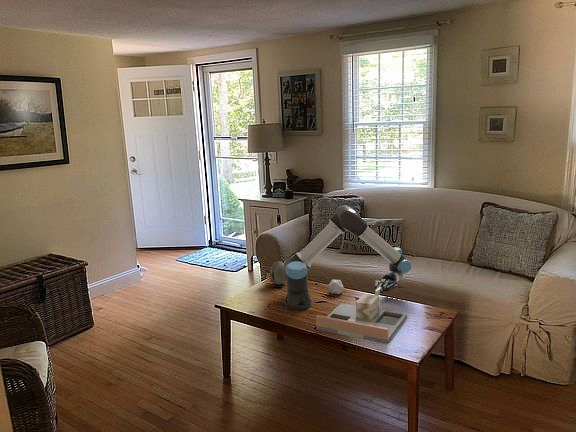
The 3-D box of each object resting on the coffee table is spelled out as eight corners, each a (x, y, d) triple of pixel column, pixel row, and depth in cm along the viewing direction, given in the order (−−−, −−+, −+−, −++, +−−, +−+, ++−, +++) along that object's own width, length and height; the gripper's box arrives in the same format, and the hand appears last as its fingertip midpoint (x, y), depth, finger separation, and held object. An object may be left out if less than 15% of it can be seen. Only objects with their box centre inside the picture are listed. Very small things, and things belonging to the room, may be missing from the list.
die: (345, 292, 272) (338, 277, 275) (345, 290, 264) (338, 275, 267) (333, 298, 272) (326, 283, 275) (333, 296, 263) (325, 281, 266)
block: (356, 316, 232) (355, 302, 230) (364, 307, 242) (364, 293, 240) (371, 319, 228) (370, 304, 226) (379, 310, 238) (379, 295, 236)
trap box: (316, 329, 225) (315, 316, 224) (341, 306, 250) (341, 294, 249) (387, 344, 207) (387, 329, 205) (406, 317, 232) (406, 304, 230)
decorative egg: (292, 283, 290) (291, 260, 287) (280, 288, 282) (278, 265, 278) (279, 279, 298) (277, 257, 295) (266, 285, 289) (265, 262, 286)
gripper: (401, 286, 261) (388, 302, 241) (379, 283, 268) (365, 298, 248) (401, 274, 259) (388, 288, 240) (379, 271, 266) (364, 285, 246)
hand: (376, 293), depth 244 cm, fingers closed
